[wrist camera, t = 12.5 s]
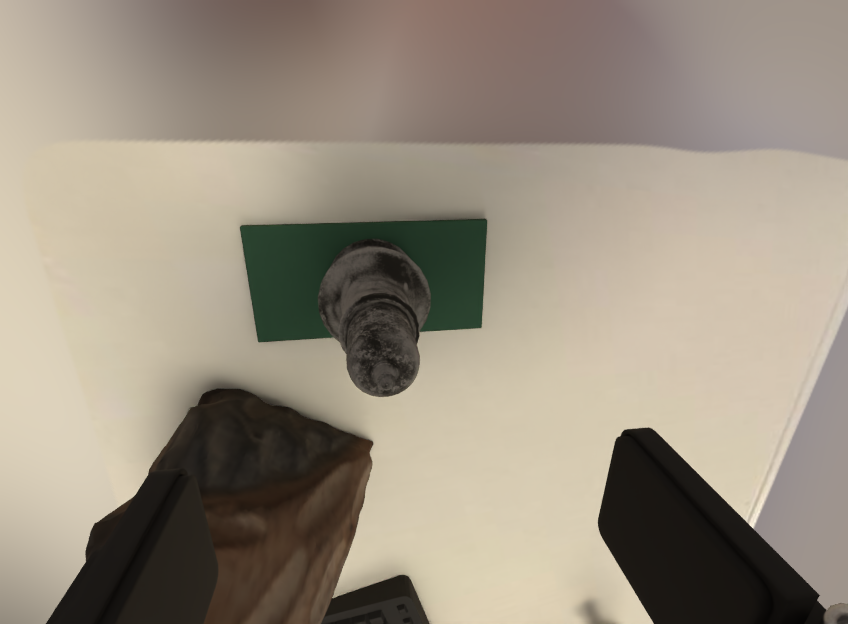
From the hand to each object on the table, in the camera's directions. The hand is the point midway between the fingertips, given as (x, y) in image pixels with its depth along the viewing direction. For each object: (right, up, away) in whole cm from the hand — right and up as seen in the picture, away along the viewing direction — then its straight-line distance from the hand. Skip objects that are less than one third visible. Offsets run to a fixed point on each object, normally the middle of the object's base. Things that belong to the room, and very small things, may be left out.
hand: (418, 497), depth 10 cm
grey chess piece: (-3, +6, +16) cm, 17 cm away
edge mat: (-3, +6, +16) cm, 18 cm away
